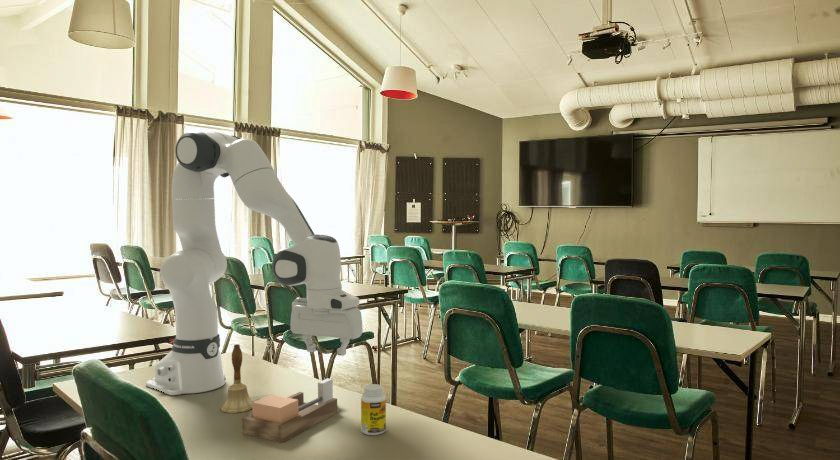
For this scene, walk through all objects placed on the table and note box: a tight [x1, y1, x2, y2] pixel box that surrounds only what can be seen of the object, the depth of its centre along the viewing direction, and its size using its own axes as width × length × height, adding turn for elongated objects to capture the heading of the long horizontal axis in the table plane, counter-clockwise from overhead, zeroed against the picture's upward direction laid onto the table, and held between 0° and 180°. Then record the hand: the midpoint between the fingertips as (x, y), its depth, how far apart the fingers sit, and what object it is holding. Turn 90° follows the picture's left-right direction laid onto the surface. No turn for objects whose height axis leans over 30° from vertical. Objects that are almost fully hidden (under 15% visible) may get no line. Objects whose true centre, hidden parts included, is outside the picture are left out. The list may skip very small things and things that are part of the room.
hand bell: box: [220, 343, 254, 414], centre depth 146 cm, size 8×8×16 cm
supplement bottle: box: [360, 383, 387, 436], centre depth 130 cm, size 6×6×10 cm
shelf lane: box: [241, 391, 338, 444], centre depth 136 cm, size 12×20×4 cm, turn 153°
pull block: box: [252, 377, 334, 424], centre depth 139 cm, size 8×24×6 cm, turn 153°
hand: (326, 353), depth 147 cm, fingers open, 8 cm apart
